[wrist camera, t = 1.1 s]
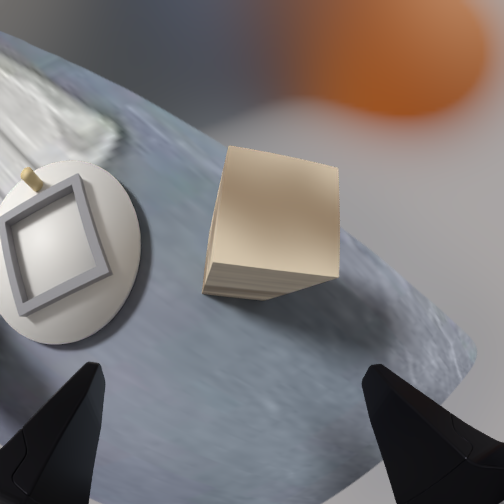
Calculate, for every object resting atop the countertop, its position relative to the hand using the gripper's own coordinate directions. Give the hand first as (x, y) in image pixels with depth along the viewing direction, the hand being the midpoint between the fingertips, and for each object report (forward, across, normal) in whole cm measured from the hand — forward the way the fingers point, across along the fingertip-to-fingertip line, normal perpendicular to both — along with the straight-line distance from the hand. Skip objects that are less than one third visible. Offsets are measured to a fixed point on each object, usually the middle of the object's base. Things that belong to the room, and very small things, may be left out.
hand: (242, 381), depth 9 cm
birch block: (+15, -2, +4) cm, 16 cm away
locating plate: (+16, +14, +4) cm, 21 cm away
